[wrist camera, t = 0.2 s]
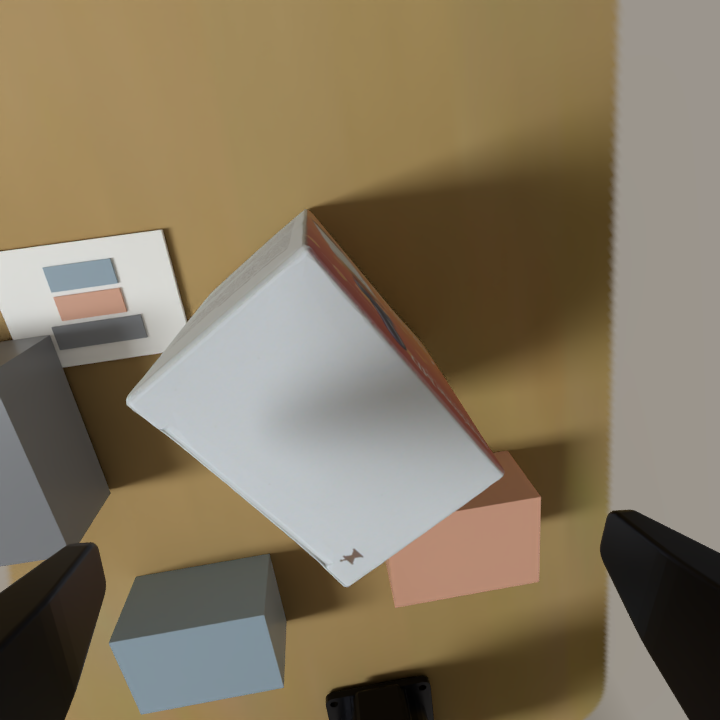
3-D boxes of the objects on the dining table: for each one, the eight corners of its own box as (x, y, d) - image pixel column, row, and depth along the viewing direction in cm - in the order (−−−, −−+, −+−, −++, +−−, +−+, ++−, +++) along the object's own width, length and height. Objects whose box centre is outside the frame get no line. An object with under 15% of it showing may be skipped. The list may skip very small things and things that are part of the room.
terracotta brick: (506, 525, 27) (538, 581, 23) (382, 546, 27) (395, 607, 23) (506, 448, 25) (541, 496, 21) (372, 470, 25) (384, 523, 21)
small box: (423, 343, 22) (516, 480, 13) (330, 417, 23) (349, 598, 13) (306, 202, 20) (308, 236, 10) (206, 291, 20) (116, 405, 11)
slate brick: (286, 618, 28) (283, 687, 24) (163, 640, 27) (141, 714, 24) (269, 551, 26) (263, 614, 22) (137, 574, 26) (108, 642, 22)
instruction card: (194, 346, 21) (192, 349, 21) (29, 371, 21) (25, 374, 20) (162, 229, 19) (160, 230, 19) (-20, 253, 19) (-25, 255, 19)
